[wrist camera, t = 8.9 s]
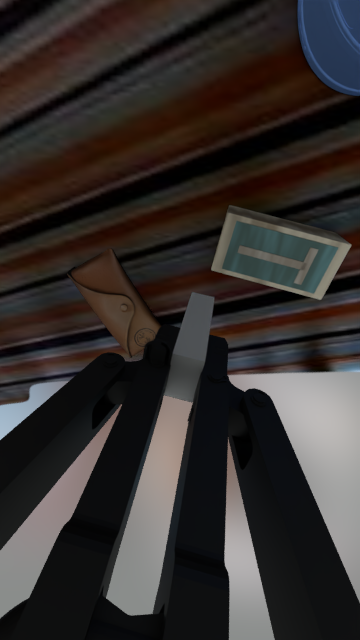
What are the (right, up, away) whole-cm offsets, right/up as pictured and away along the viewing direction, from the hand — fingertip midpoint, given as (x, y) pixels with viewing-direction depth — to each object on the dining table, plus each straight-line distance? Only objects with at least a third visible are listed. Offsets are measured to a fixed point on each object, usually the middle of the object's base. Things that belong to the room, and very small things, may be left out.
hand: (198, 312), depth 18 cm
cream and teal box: (+4, +10, +17) cm, 20 cm away
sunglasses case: (-11, +3, +28) cm, 31 cm away
